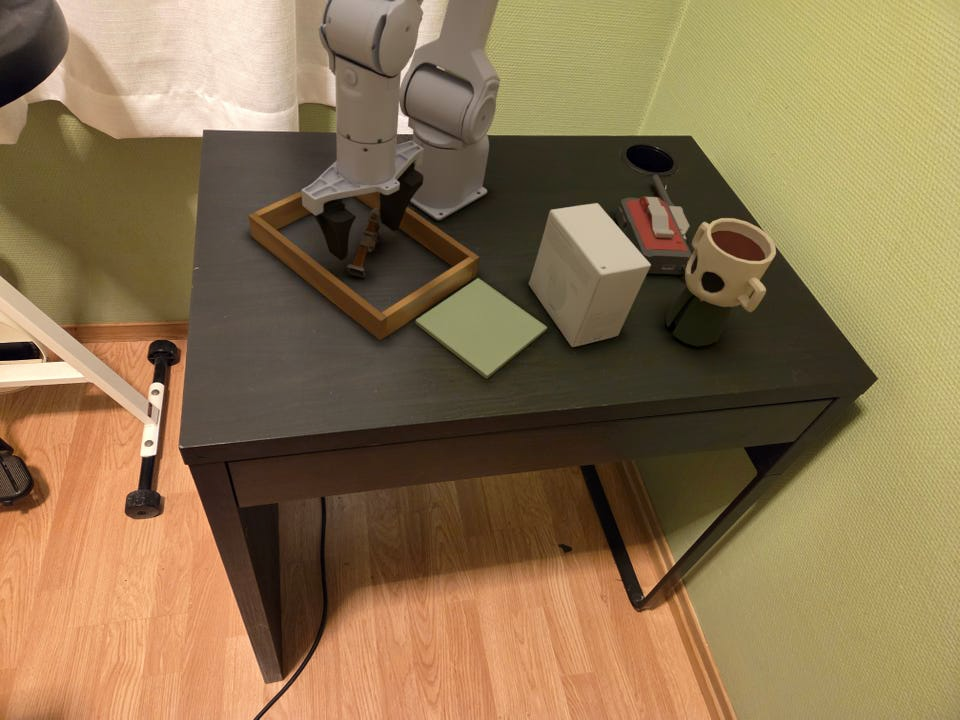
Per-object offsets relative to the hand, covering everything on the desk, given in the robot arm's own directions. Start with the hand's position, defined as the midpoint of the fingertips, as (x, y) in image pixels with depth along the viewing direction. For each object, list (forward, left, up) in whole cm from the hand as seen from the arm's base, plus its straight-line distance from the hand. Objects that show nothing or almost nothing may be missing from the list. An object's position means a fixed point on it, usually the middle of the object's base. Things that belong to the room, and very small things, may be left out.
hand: (364, 240), depth 73 cm
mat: (-2, +16, -3) cm, 16 cm away
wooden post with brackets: (0, 0, -3) cm, 3 cm away
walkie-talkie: (-32, +19, -3) cm, 37 cm away
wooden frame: (0, 0, -3) cm, 3 cm away
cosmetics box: (-12, +21, -3) cm, 24 cm away
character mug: (-20, +32, -3) cm, 38 cm away
